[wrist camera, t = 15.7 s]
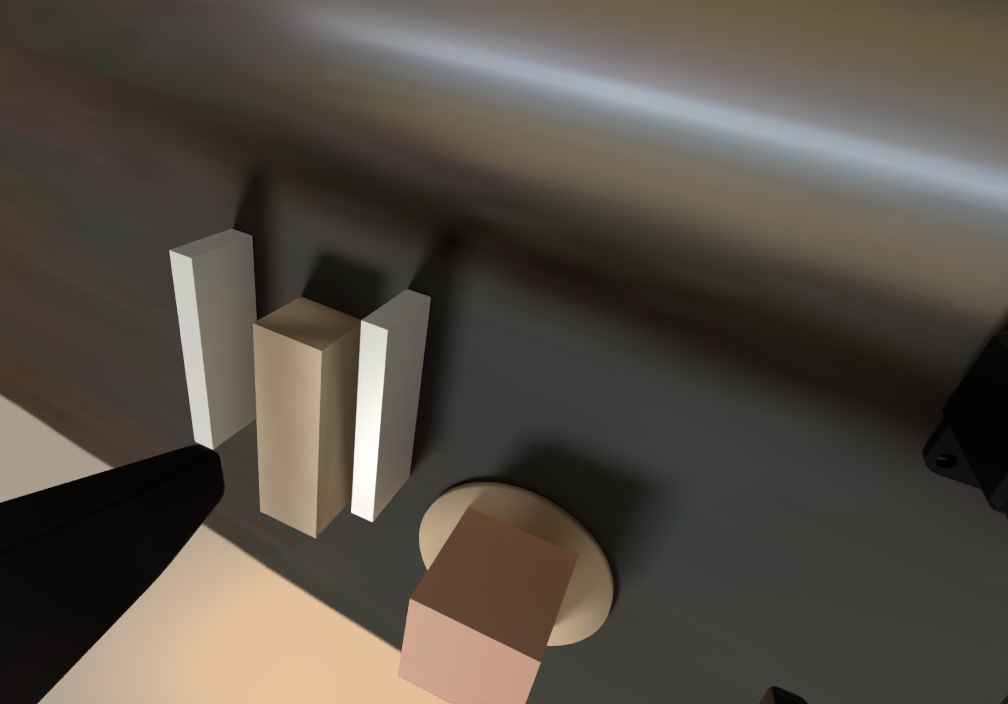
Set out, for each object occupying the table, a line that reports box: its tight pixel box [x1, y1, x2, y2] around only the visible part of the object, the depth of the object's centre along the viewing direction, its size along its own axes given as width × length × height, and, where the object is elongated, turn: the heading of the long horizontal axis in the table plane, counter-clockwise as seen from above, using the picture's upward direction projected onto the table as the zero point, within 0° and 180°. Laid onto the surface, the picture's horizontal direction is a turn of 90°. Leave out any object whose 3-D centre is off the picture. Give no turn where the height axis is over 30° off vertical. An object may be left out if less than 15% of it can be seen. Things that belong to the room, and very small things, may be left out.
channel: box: [169, 229, 431, 522], centre depth 23 cm, size 9×9×3 cm
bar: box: [253, 297, 361, 538], centre depth 25 cm, size 3×10×3 cm, turn 168°
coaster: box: [419, 482, 614, 646], centre depth 26 cm, size 9×9×1 cm
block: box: [398, 507, 579, 704], centre depth 24 cm, size 5×5×5 cm
